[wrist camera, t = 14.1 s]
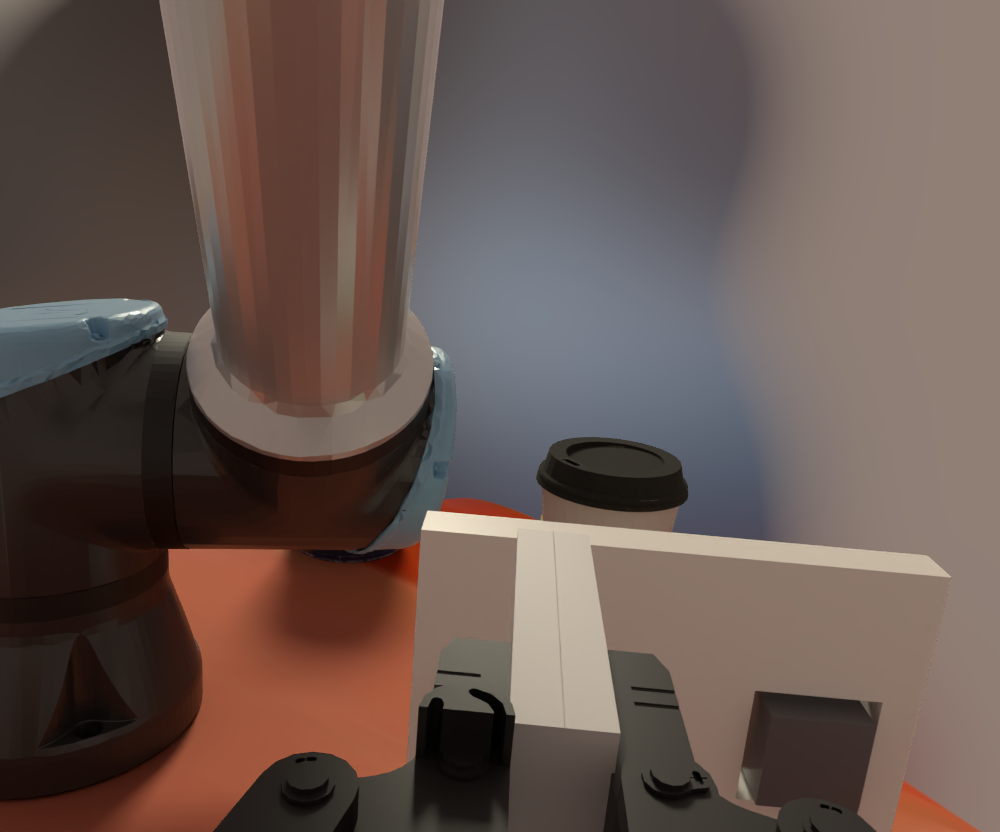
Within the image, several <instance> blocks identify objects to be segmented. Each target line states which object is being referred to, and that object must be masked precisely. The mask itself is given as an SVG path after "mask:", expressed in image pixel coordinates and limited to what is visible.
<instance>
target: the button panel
mask: <svg viewBox="0 0 1000 832" xmlns="http://www.w3.org/2000/svg"><path fill="white" fill-rule="evenodd" d="M518 528H521V529H532V530H542V531H553V532H564V533H574V534H585V535H589V539H590V545H591V551H592V558H593V564H594V570H595V576H596V583H597V589H598V595H599V602H600V608H601V614H602V620H603V627H604V633H605V639H606V645H607V650H616V651H627V652H637V653H647V654H654V655H655V656H656V658H657V659H658V660H659V661H660V662H661V663H662V664H663V665H664V666H665V667H666V668H667V669H668V671H669V672H670V675H671V678H672V682H673V686H674V689H675V694H676V696H677V700H678V703H679V710H680V711H681V714H682V718H683V721H684V725H685V728H686V732H687V735H688V739H689V743H690V746H691V750H692V753H693V757H694V760H695V762H696V763H698V764H699V765H700V766H701V767H702V768H703V769H704V770H706V771H707V772H708V773H709V774H710V776H711V777H712V779H713V781H714V783H715V784H716V786H717V789H718V792H719V795H720V796H721V797H723V798H725V799H726V800H728V801H730V802H731V803H733V804H735V805H738V806H740V807H743V808H745V809H747V810H750V811H753V812H756V813H759V814H762V815H765V816H768V817H771V818H774V819H777V818H778V813H779V810H780V809H781V808H780V807H769V806H759V805H755V802H754V799H753V797H752V794H751V791H750V789H749V786H748V783H747V781H746V778H745V775H744V773H743V770H742V768H741V766H742V760H743V755H744V749H745V744H746V738H747V733H748V727H749V722H750V716H751V710H752V705H753V699H754V694H755V691H764V692H774V693H785V694H796V695H807V696H817V697H828V698H839V699H850V700H860V702H861V703H862V705H863V706H864V708H865V710H866V711H867V713H868V714H869V716H870V717H871V719H872V720H873V722H874V723H875V725H876V726H877V728H876V732H875V737H874V741H873V746H872V750H871V755H870V759H869V764H868V768H867V773H866V777H865V782H864V786H863V790H862V795H861V799H860V804H859V808H858V813H857V815H859V816H860V817H862V818H863V819H864V820H865V821H866V822H867V823H868V824H869V825H870V826H871V827H872V828H873V829H875V830H876V832H891V831H892V827H893V822H894V818H895V814H896V810H897V806H898V801H899V797H900V793H901V789H902V785H903V780H904V776H905V772H906V768H907V763H908V759H909V755H910V751H911V746H912V743H913V738H914V734H915V730H916V726H917V722H918V717H919V713H920V709H921V705H922V701H923V696H924V692H925V688H926V684H927V680H928V675H929V671H930V667H931V663H932V658H933V654H934V650H935V646H936V642H937V638H938V633H939V629H940V625H941V621H942V617H943V612H944V608H945V604H946V600H947V596H948V591H949V587H950V583H951V579H952V577H951V576H950V575H948V574H947V573H946V572H945V571H944V570H943V569H942V568H941V567H939V566H938V565H937V564H936V563H935V562H934V561H933V560H932V559H930V558H929V557H928V556H927V555H915V554H904V553H893V552H882V551H871V550H860V549H849V548H837V547H827V546H815V545H805V544H794V543H782V542H771V541H759V540H749V539H738V538H727V537H716V536H704V535H693V534H683V533H671V532H660V531H649V530H638V529H627V528H616V527H605V526H594V525H583V524H572V523H561V522H549V521H538V520H527V519H516V518H505V517H494V516H483V515H472V514H461V513H450V512H438V511H427V514H426V517H425V520H424V523H423V526H422V529H421V540H420V557H419V573H418V589H417V605H416V621H415V638H414V654H413V670H412V686H411V703H410V719H409V735H408V751H407V763H408V762H410V761H411V760H412V759H413V758H414V757H415V754H416V739H417V724H418V709H419V705H420V703H421V701H422V699H423V698H424V696H425V695H426V694H428V693H429V692H431V691H432V690H433V688H434V683H435V678H436V673H437V668H438V663H439V658H440V653H441V651H442V650H443V649H444V648H445V647H446V646H447V645H448V644H449V643H450V642H451V641H452V640H453V639H454V638H455V637H459V638H470V639H480V640H490V641H501V642H507V635H508V625H509V615H510V605H511V594H512V584H513V574H514V564H515V554H516V543H517V533H518Z"/></svg>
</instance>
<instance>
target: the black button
mask: <svg viewBox="0 0 1000 832" xmlns="http://www.w3.org/2000/svg"><path fill="white" fill-rule="evenodd" d="M876 728H877V726H876V725H875V723H874V722H873V720H872V719H871V717H870V716H869V714H868V713H867V711H866V710H865V708H864V706H863V705H862V703H861V702H860V700H850V699H839V698H828V697H817V696H807V695H796V694H785V693H774V692H764V691H755V694H754V699H753V705H752V710H751V716H750V722H749V727H748V733H747V738H746V744H745V749H744V755H743V760H742V766H741V767H742V770H743V773H744V775H745V778H746V781H747V783H748V786H749V789H750V791H751V794H752V797H753V799H754V802H755V805H759V806H769V807H780V808H782V807H783V806H784V805H785V804H786V803H787V802H789V801H792V800H796V799H800V798H813V799H823V800H826V801H829V802H832V803H835V804H838V805H841V806H843V807H845V808H847V809H848V810H850V811H852V812H854V813H855V814H857V813H858V808H859V804H860V799H861V795H862V790H863V786H864V782H865V777H866V773H867V768H868V764H869V759H870V755H871V750H872V746H873V741H874V737H875V732H876Z"/></svg>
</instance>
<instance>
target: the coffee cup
mask: <svg viewBox="0 0 1000 832" xmlns="http://www.w3.org/2000/svg"><path fill="white" fill-rule="evenodd" d="M536 479H537V481H538V484H539V485H541V487H542V494H543V514H542V515H541V519H540V521H549V522H561V523H572V524H583V525H594V526H605V527H616V528H627V529H638V530H649V531H660V532H671V533H672V529H673V525H674V522H675V517H676V514H677V511H678V507H679V506H680V505H682V504H683V503H684V502H685V501H686V500H687V498H688V490H687V489H688V485H687V483H686V480H685V479H684V478H683V474H682V466H681V463H680V461H679V460H678V459H677V458H676V457H675V456H673V455H672V454H670V453H668V452H666V451H663V450H661V449H659V448H656V447H653V446H649V445H646V444H642V443H637V442H632V441H627V440H621V439H612V438H599V437H582V438H572V439H565V440H562V441H558V442H556V443H555V444H553V445H552V446H551V447H550V449H549V452H548V455H547V457H546V460H544V461H543V462H542V463H541V464H540V466H539V470H538V472H537V477H536Z"/></svg>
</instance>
